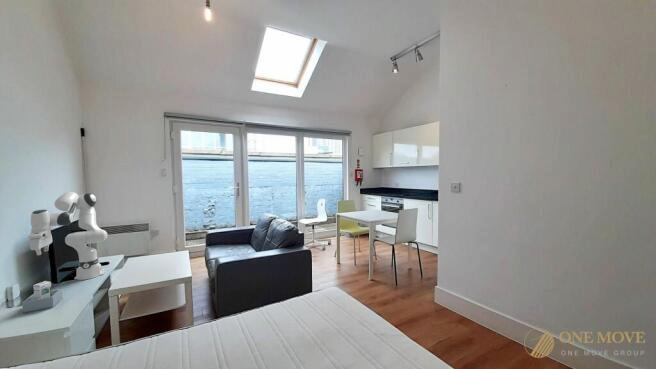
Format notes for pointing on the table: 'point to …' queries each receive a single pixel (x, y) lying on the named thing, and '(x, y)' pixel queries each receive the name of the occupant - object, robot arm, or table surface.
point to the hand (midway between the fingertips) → (42, 253)
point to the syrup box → (42, 290)
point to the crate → (42, 302)
